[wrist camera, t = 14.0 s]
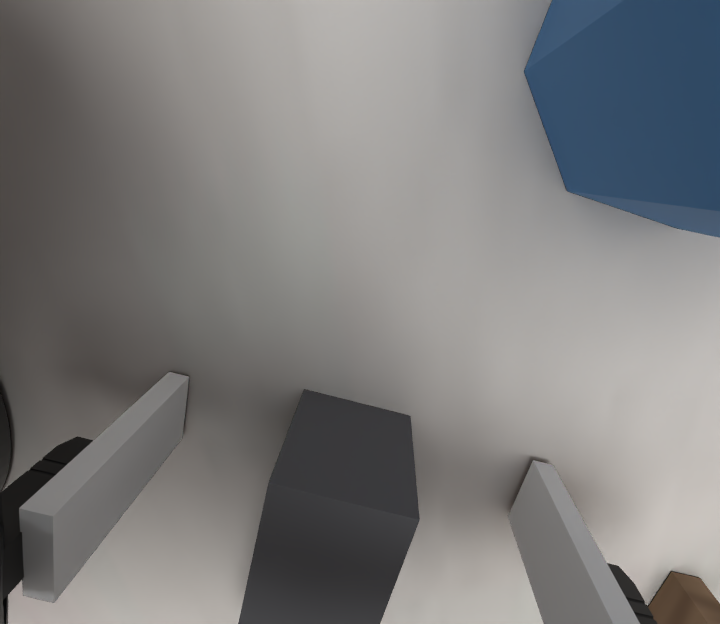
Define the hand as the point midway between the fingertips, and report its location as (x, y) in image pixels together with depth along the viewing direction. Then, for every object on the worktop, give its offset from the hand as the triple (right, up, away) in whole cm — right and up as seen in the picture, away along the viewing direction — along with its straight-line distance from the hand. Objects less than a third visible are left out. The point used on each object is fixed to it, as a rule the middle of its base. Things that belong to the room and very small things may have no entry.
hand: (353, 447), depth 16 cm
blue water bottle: (+9, +12, -4) cm, 16 cm away
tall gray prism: (-1, -3, +2) cm, 4 cm away
